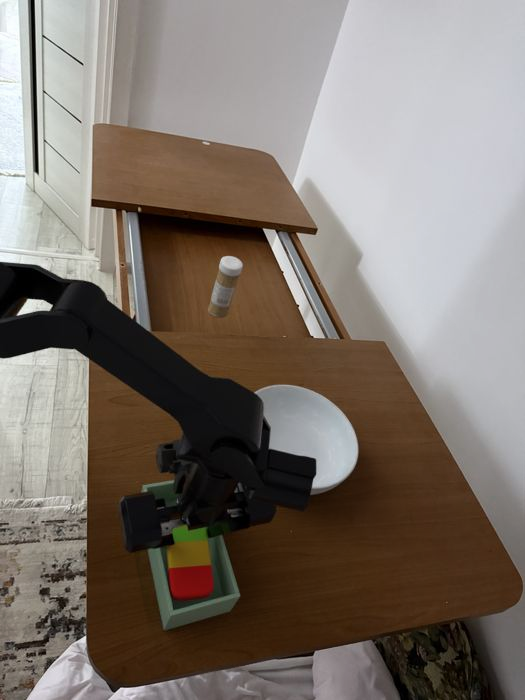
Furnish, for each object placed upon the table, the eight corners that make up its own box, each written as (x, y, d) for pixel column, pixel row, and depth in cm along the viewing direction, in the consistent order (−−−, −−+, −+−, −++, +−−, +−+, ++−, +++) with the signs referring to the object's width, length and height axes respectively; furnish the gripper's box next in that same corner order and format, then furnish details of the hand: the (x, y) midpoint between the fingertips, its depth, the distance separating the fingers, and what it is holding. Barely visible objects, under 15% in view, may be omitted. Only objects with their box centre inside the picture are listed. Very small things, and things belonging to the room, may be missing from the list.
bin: (230, 611, 67) (240, 596, 63) (163, 631, 63) (170, 616, 59) (197, 493, 78) (204, 474, 74) (138, 504, 74) (142, 485, 70)
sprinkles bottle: (230, 310, 111) (246, 260, 102) (223, 321, 108) (239, 271, 99) (211, 302, 111) (225, 252, 102) (204, 313, 108) (217, 262, 99)
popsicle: (168, 603, 62) (171, 597, 61) (162, 492, 72) (164, 485, 71) (212, 599, 64) (216, 593, 63) (200, 491, 74) (202, 484, 73)
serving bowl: (357, 445, 94) (373, 423, 89) (318, 534, 79) (335, 513, 74) (261, 389, 97) (272, 365, 92) (206, 465, 82) (215, 440, 77)
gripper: (263, 412, 66) (234, 475, 76) (116, 429, 58) (106, 497, 68) (295, 488, 59) (258, 546, 69) (133, 519, 51) (119, 579, 61)
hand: (187, 539), depth 67 cm, fingers closed on popsicle, 6 cm apart
